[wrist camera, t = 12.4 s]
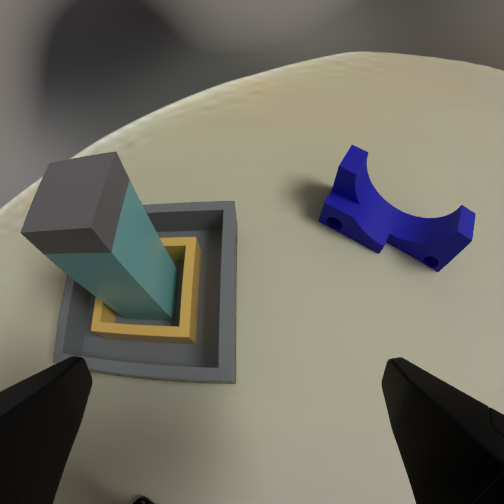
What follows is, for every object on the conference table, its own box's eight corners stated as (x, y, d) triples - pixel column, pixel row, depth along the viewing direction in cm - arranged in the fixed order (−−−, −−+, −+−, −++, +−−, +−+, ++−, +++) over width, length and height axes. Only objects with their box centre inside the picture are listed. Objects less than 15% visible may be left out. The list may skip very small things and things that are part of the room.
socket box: (235, 383, 20) (231, 380, 17) (77, 369, 20) (53, 362, 17) (237, 225, 26) (234, 200, 23) (101, 230, 26) (85, 209, 23)
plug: (174, 320, 22) (91, 227, 10) (126, 319, 22) (20, 232, 10) (178, 271, 24) (116, 151, 12) (132, 271, 24) (49, 163, 12)
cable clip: (318, 222, 26) (331, 178, 21) (337, 189, 28) (351, 144, 23) (433, 286, 23) (469, 255, 18) (443, 248, 25) (475, 213, 20)
